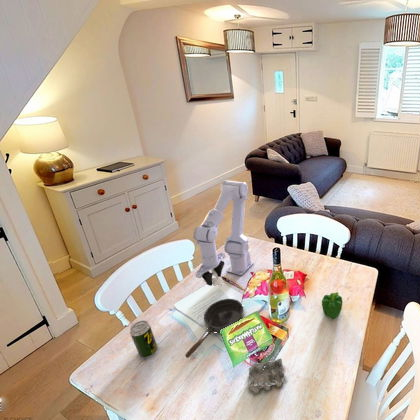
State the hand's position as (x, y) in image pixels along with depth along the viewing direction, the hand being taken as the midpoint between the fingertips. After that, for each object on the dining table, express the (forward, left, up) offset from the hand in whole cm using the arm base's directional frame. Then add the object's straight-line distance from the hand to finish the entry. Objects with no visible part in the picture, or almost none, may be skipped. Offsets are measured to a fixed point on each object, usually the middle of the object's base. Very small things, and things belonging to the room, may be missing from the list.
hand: (214, 280), depth 111 cm
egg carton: (+23, +38, -9) cm, 45 cm away
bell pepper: (-9, +49, -9) cm, 50 cm away
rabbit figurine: (0, 0, -2) cm, 2 cm away
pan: (+9, +11, -8) cm, 16 cm away
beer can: (+29, -4, -9) cm, 31 cm away
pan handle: (+21, +11, -7) cm, 25 cm away
